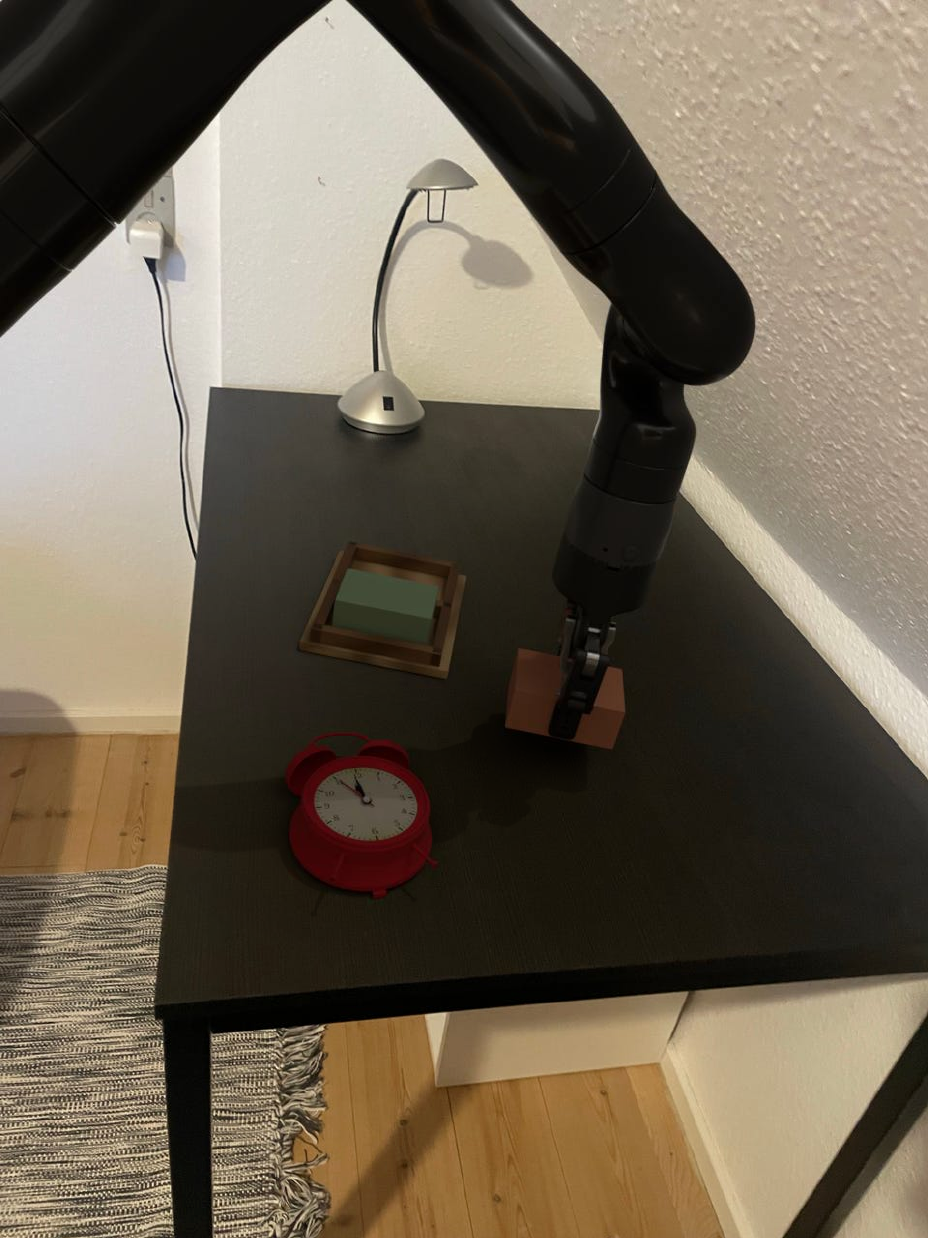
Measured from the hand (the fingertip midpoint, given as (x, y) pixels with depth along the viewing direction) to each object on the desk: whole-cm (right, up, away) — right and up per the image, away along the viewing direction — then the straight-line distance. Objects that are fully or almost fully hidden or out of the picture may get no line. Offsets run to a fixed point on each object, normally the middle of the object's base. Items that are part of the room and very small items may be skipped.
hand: (560, 710), depth 79 cm
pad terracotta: (0, 0, 0) cm, 1 cm away
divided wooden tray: (-16, +8, +16) cm, 24 cm away
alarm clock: (-16, -8, -8) cm, 20 cm away
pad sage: (-16, +7, +12) cm, 21 cm away
